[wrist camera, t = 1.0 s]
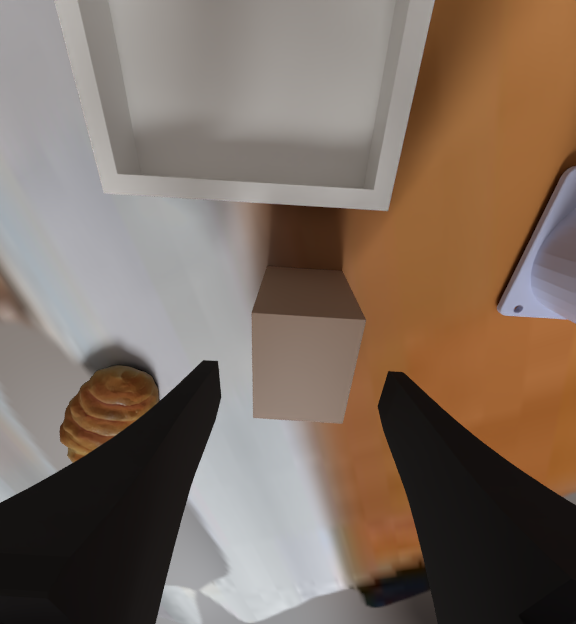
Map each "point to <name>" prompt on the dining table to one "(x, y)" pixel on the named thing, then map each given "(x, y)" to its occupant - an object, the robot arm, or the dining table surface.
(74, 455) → the pastry
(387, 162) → the bin
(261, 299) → the beige block
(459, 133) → the dining table surface
